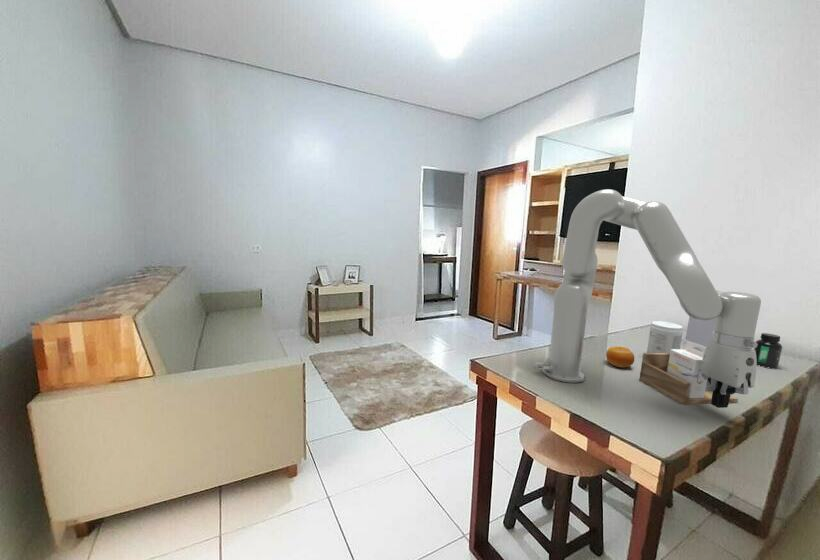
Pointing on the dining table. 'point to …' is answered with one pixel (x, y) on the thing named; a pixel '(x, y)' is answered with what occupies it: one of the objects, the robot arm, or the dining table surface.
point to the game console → (700, 331)
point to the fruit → (620, 356)
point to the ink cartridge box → (689, 368)
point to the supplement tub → (664, 337)
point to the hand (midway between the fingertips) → (719, 406)
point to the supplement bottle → (768, 350)
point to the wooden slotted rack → (670, 380)
